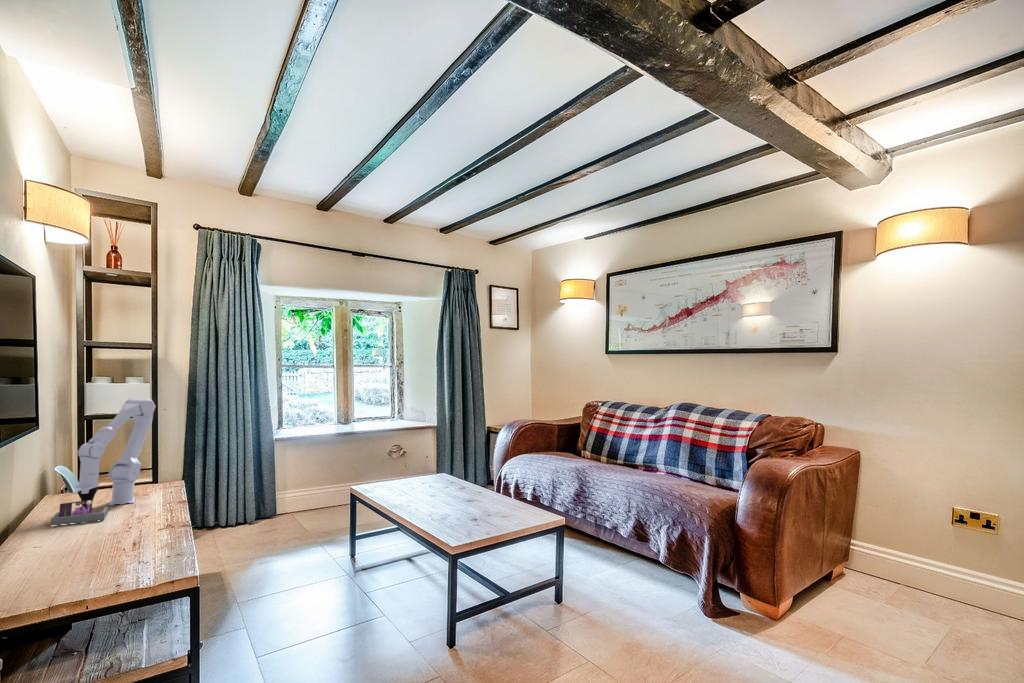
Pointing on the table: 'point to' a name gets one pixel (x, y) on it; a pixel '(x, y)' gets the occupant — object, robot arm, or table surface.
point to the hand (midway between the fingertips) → (86, 508)
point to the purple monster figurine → (67, 508)
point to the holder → (78, 518)
